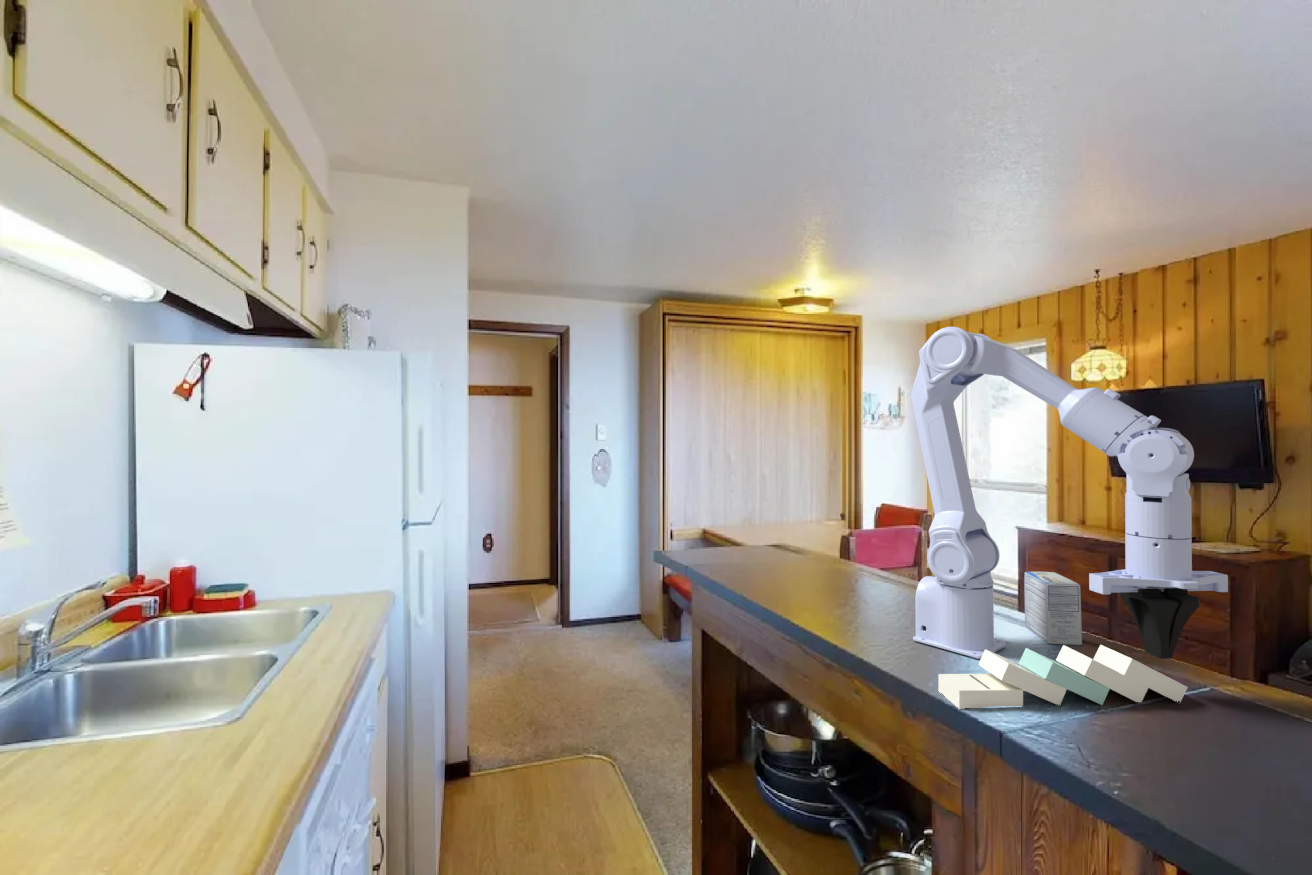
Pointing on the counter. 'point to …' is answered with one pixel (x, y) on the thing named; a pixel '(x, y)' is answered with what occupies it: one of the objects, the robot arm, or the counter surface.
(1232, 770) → the counter surface
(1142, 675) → the domino
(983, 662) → the domino
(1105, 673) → the domino
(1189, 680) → the counter surface
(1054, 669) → the domino
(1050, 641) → the medicine box
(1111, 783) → the counter surface
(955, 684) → the domino
